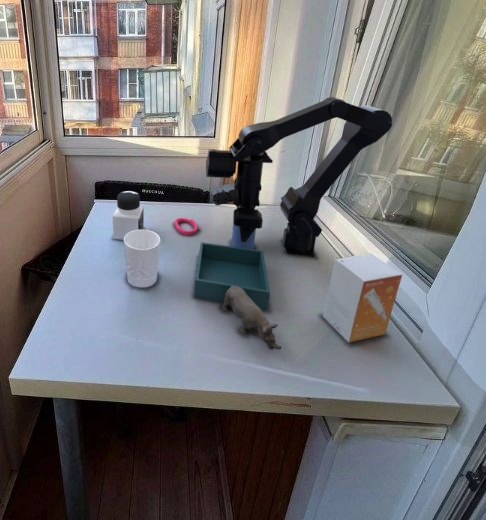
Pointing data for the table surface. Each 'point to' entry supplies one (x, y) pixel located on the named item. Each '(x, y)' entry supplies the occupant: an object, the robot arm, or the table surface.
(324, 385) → the table surface
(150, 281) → the white cup
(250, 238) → the bottle
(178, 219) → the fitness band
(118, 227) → the medicine bottle
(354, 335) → the small box
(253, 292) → the tray
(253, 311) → the rhino figurine
